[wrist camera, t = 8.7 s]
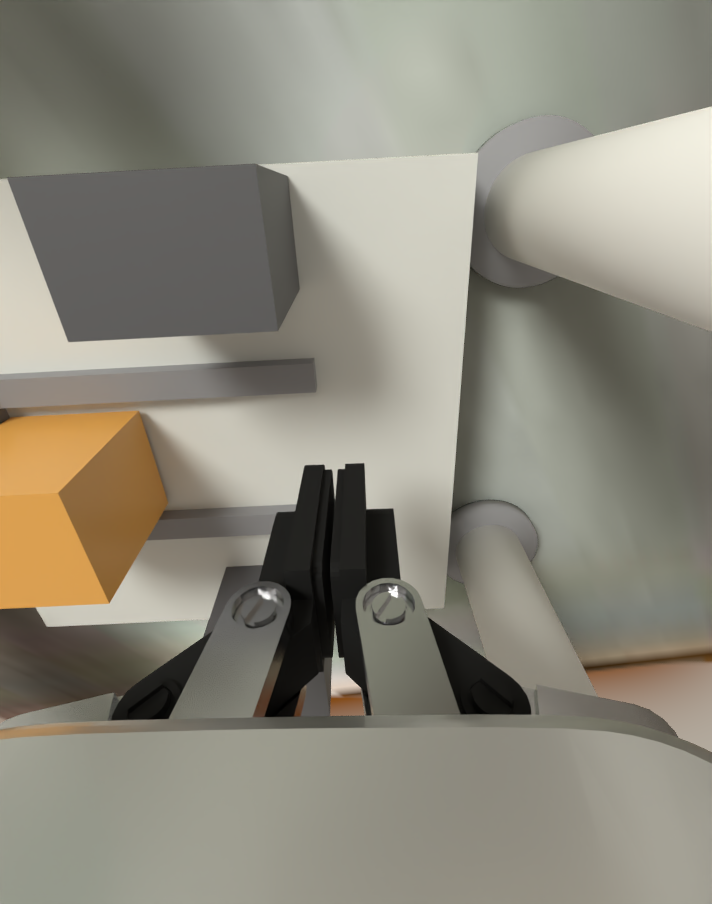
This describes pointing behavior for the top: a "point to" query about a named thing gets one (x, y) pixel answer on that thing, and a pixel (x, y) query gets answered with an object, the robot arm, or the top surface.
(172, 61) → the top surface
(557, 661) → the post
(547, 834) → the robot arm
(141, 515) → the smooth orange cube
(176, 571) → the panel
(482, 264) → the white rounded rod
